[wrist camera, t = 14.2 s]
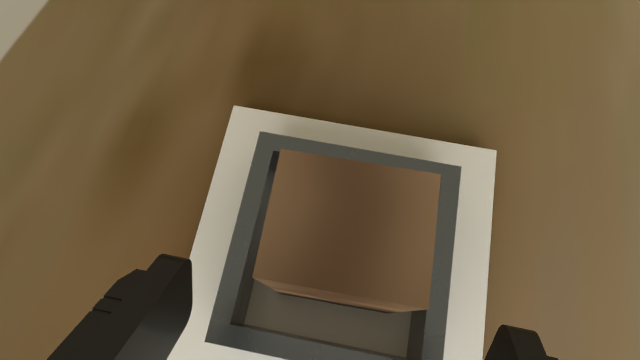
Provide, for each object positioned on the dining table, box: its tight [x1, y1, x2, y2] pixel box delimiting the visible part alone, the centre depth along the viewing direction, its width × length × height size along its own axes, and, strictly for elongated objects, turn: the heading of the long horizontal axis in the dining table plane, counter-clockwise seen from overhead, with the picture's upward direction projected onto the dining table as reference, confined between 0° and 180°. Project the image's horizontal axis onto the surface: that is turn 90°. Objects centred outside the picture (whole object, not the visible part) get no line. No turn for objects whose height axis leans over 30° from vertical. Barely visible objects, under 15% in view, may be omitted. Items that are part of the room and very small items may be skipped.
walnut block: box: [252, 149, 441, 314], centre depth 16 cm, size 5×4×8 cm
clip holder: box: [167, 106, 497, 360], centre depth 19 cm, size 14×14×4 cm
